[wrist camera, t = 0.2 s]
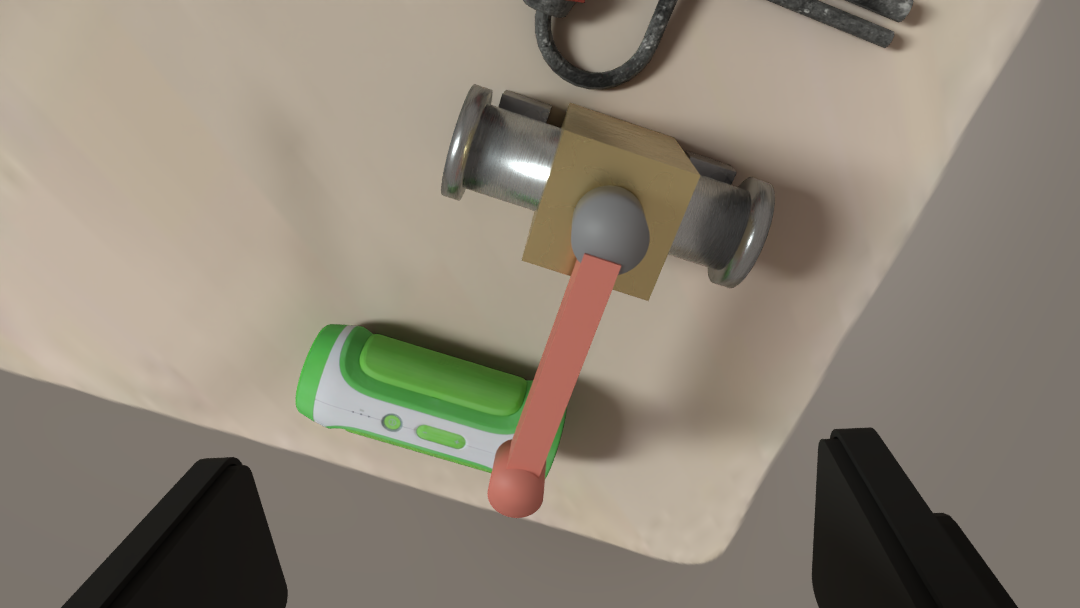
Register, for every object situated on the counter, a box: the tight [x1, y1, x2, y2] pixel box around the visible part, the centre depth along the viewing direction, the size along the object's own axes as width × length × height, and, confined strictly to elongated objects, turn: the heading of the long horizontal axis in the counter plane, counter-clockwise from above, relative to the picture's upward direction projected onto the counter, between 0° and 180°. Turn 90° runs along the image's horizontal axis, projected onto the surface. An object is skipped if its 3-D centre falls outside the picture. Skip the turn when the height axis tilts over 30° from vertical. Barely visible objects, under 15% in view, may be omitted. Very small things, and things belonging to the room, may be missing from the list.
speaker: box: [296, 324, 567, 478], centre depth 48 cm, size 18×7×8 cm, turn 73°
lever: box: [488, 185, 650, 518], centre depth 35 cm, size 4×18×4 cm, turn 162°
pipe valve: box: [441, 84, 775, 301], centre depth 40 cm, size 18×7×11 cm, turn 72°
